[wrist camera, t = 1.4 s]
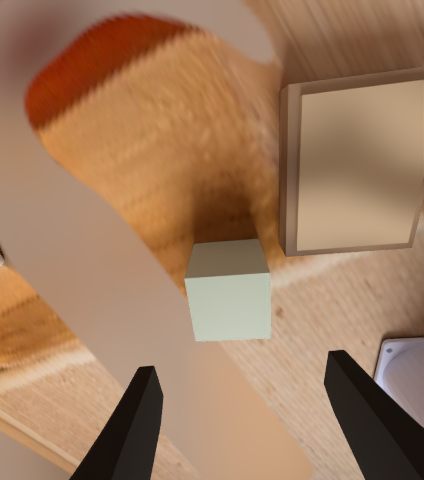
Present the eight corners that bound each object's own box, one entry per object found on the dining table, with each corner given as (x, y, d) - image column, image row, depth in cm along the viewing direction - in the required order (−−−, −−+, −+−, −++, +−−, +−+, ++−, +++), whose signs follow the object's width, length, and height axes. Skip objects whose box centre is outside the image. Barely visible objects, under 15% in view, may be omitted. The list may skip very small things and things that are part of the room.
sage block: (260, 292, 20) (271, 338, 16) (201, 295, 21) (195, 341, 16) (258, 238, 18) (270, 272, 14) (194, 243, 19) (184, 278, 14)
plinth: (390, 234, 18) (416, 250, 15) (279, 243, 18) (287, 259, 16) (423, 72, 14) (464, 59, 11) (279, 91, 14) (290, 82, 12)
